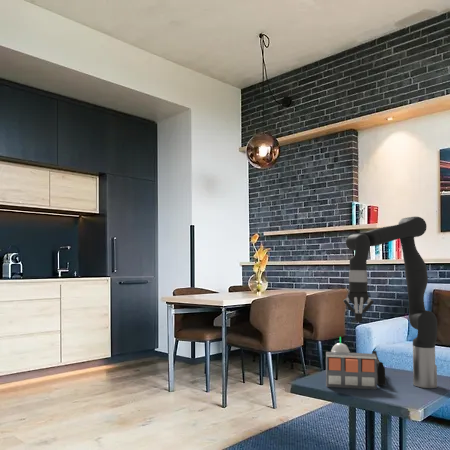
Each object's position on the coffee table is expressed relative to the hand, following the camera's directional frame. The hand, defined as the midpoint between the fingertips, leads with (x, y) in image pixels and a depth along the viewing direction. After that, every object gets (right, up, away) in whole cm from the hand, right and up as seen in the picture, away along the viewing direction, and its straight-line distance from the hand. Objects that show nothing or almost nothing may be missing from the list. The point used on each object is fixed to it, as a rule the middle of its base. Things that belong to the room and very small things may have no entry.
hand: (358, 322), depth 206 cm
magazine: (+15, -31, +21) cm, 41 cm away
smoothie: (-4, -31, +16) cm, 35 cm away
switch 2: (-2, -22, +5) cm, 22 cm away
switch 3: (+5, -22, +5) cm, 23 cm away
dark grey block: (-1, -30, +8) cm, 31 cm away
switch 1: (-8, -22, +8) cm, 25 cm away
